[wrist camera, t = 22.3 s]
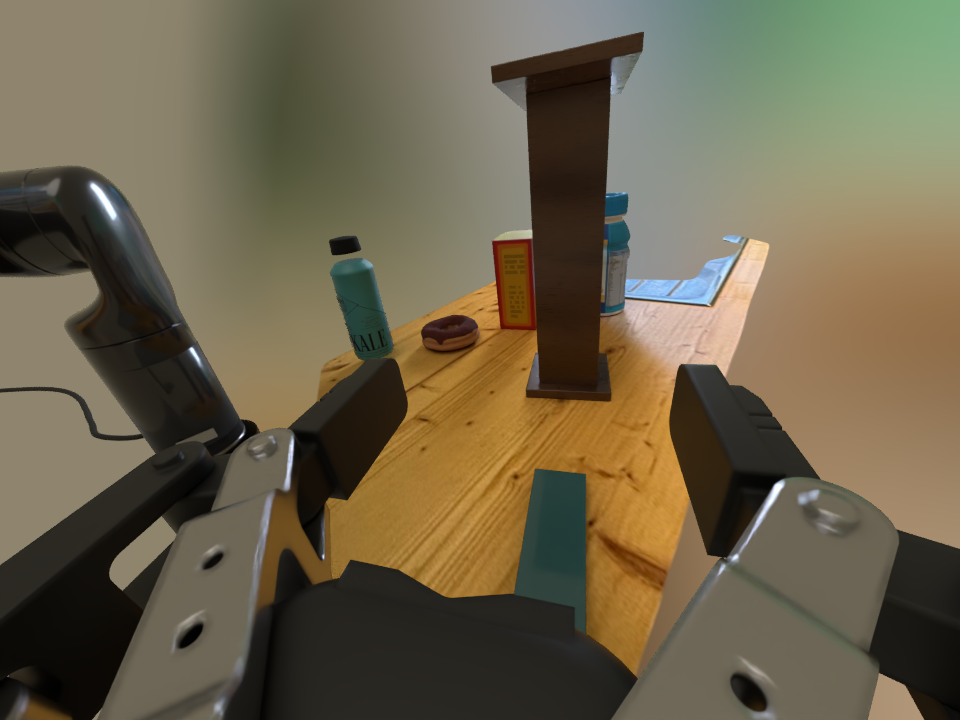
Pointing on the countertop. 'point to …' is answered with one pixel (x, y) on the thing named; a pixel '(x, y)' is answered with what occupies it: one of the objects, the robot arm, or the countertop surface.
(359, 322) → the beverage bottle
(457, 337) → the donut
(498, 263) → the baking soda box
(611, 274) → the beverage bottle
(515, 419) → the countertop surface
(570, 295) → the stand
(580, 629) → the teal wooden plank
